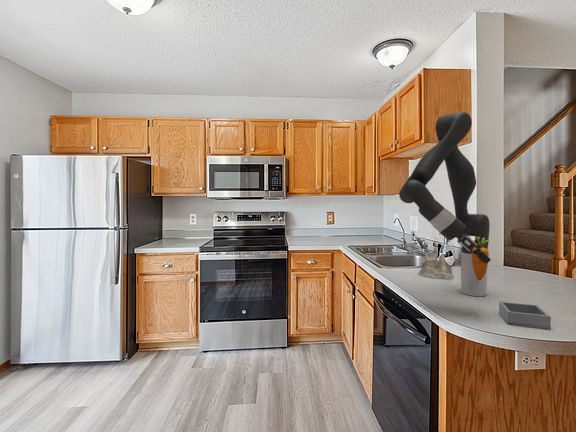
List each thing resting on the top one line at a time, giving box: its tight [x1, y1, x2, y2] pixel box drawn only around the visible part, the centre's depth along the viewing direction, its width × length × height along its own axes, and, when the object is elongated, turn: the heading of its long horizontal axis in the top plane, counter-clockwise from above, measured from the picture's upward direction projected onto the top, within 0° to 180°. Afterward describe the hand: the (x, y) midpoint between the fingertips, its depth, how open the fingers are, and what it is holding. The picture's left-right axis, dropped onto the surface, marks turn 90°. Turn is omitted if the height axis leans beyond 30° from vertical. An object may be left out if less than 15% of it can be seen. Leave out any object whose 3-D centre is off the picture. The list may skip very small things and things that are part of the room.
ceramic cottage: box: [418, 248, 454, 281], centre depth 158 cm, size 16×16×15 cm
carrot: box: [472, 237, 490, 281], centre depth 102 cm, size 5×5×15 cm
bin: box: [498, 301, 552, 331], centre depth 97 cm, size 11×11×4 cm
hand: (486, 260), depth 102 cm, fingers closed on carrot, 4 cm apart
